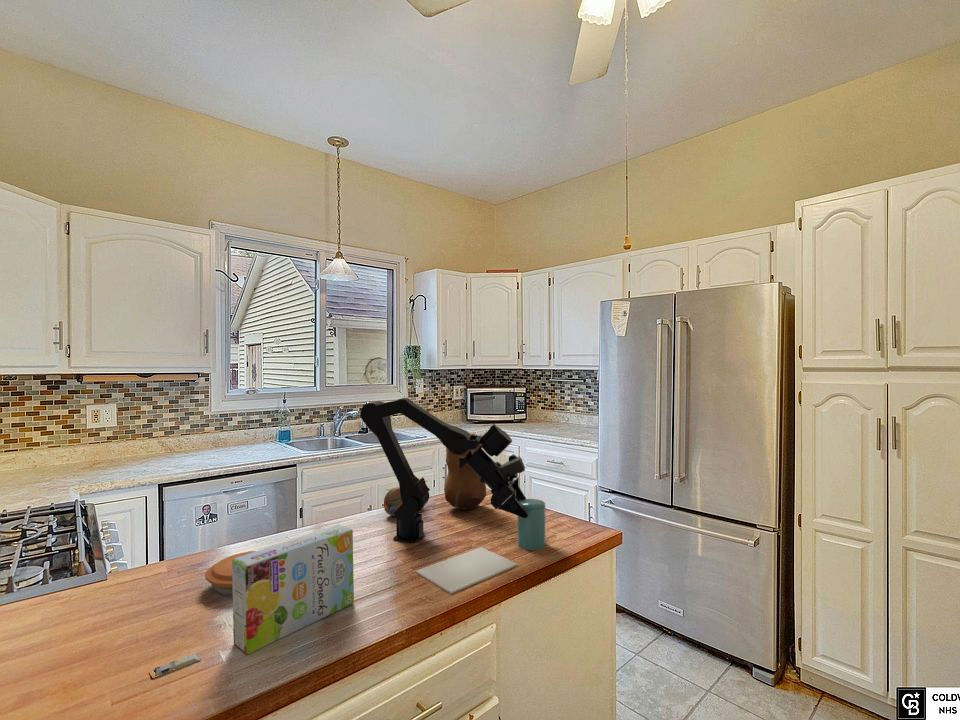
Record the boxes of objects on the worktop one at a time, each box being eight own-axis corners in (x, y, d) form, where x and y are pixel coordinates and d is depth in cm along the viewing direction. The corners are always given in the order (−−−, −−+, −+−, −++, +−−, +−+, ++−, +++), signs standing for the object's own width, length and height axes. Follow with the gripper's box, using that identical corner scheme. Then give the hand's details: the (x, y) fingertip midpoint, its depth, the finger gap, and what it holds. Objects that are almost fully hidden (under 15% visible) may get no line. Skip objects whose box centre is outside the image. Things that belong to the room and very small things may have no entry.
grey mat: (451, 594, 97) (451, 592, 97) (415, 572, 107) (415, 570, 107) (517, 565, 110) (517, 563, 110) (481, 548, 120) (481, 547, 120)
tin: (388, 519, 142) (388, 492, 142) (382, 517, 144) (381, 490, 144) (423, 507, 154) (423, 481, 154) (416, 505, 156) (416, 480, 155)
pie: (207, 609, 91) (207, 584, 91) (203, 578, 104) (203, 556, 104) (290, 588, 100) (290, 565, 100) (277, 561, 113) (277, 541, 113)
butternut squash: (468, 499, 162) (468, 427, 162) (494, 509, 151) (494, 432, 151) (435, 507, 153) (435, 431, 153) (460, 518, 142) (460, 436, 142)
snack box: (338, 595, 97) (338, 522, 97) (354, 604, 93) (354, 529, 93) (231, 644, 80) (231, 556, 80) (246, 657, 77) (246, 566, 77)
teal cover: (514, 547, 121) (514, 505, 121) (522, 537, 127) (522, 497, 127) (541, 551, 118) (541, 508, 118) (547, 541, 125) (547, 500, 125)
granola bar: (197, 656, 78) (197, 650, 78) (201, 663, 76) (201, 656, 76) (148, 675, 73) (148, 668, 73) (151, 682, 71) (151, 675, 71)
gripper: (503, 454, 114) (549, 501, 113) (509, 441, 133) (549, 480, 131) (472, 485, 116) (516, 532, 114) (482, 467, 134) (521, 507, 132)
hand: (527, 511), depth 123 cm, fingers open, 9 cm apart
